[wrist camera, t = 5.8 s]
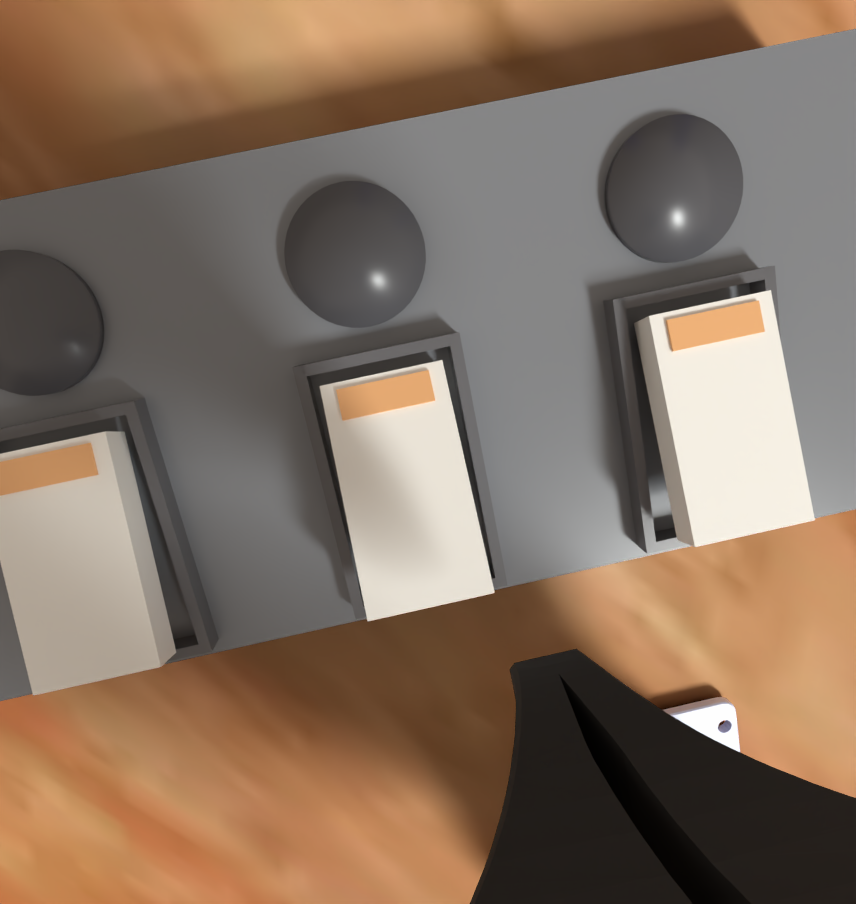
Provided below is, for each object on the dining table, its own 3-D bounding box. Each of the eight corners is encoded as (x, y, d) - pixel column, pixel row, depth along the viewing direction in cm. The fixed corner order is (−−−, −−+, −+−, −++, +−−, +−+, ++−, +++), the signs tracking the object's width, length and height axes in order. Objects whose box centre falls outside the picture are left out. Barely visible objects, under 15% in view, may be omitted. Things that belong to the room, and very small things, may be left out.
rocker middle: (490, 588, 16) (494, 593, 15) (371, 614, 16) (367, 621, 15) (441, 369, 16) (442, 359, 15) (325, 393, 16) (318, 385, 15)
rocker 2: (790, 514, 16) (817, 520, 15) (677, 540, 16) (696, 547, 15) (748, 299, 16) (772, 289, 15) (633, 323, 16) (650, 315, 15)
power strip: (1006, 435, 21) (1134, 457, 18) (20, 655, 20) (-58, 725, 17) (1007, 31, 19) (1159, -42, 15) (-133, 261, 18) (-267, 243, 14)
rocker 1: (176, 652, 16) (159, 668, 15) (56, 679, 16) (30, 697, 15) (124, 431, 16) (103, 431, 15) (2, 457, 16) (-28, 459, 15)
